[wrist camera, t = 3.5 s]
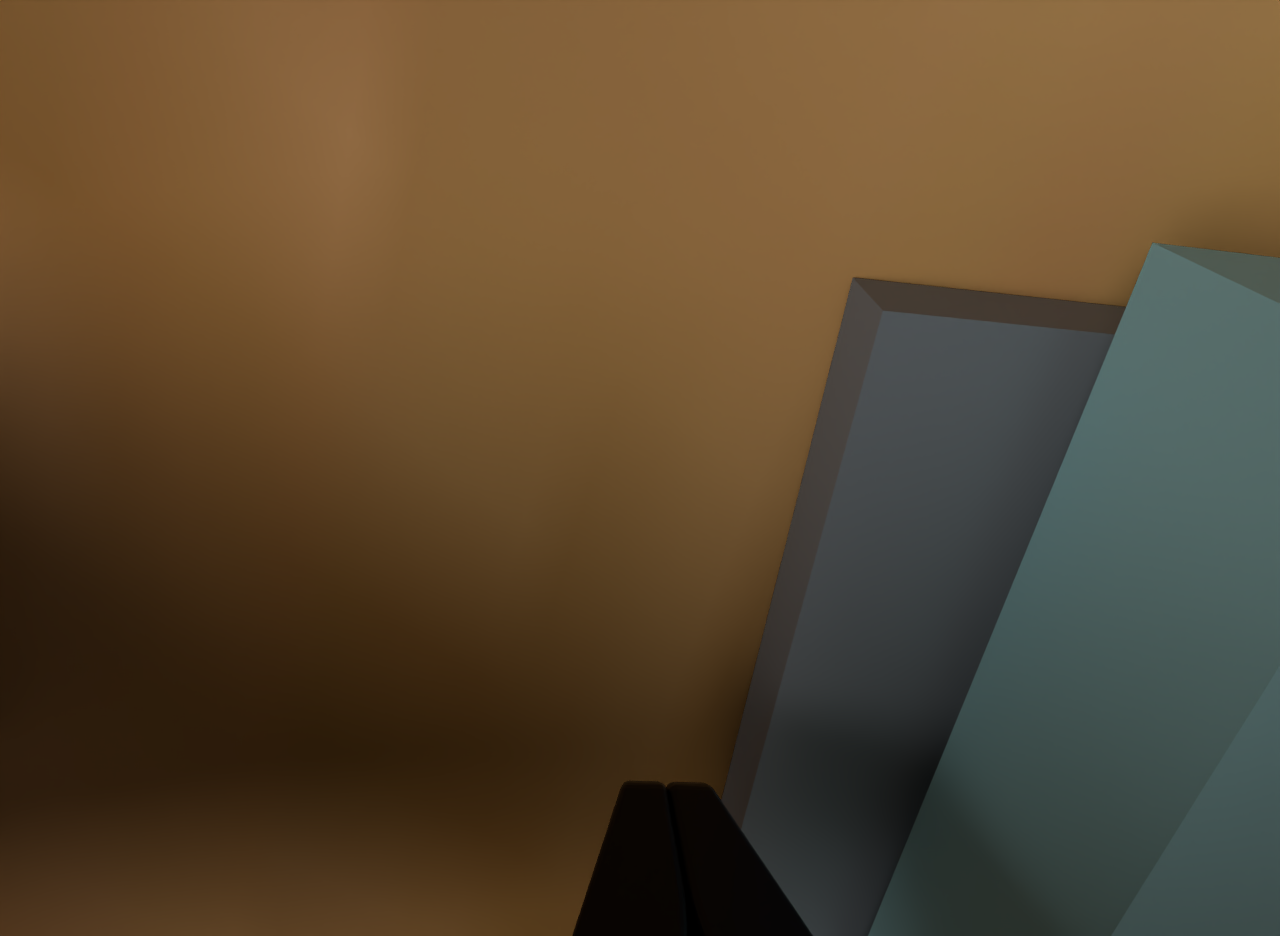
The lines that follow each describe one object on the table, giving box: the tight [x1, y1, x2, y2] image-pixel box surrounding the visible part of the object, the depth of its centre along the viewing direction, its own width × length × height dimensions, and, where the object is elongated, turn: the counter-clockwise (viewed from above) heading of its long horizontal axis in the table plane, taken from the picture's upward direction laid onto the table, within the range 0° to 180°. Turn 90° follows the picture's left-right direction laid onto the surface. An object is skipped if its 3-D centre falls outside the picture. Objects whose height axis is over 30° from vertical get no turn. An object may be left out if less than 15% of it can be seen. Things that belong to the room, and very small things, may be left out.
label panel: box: [721, 278, 1126, 936], centre depth 12 cm, size 9×11×1 cm
